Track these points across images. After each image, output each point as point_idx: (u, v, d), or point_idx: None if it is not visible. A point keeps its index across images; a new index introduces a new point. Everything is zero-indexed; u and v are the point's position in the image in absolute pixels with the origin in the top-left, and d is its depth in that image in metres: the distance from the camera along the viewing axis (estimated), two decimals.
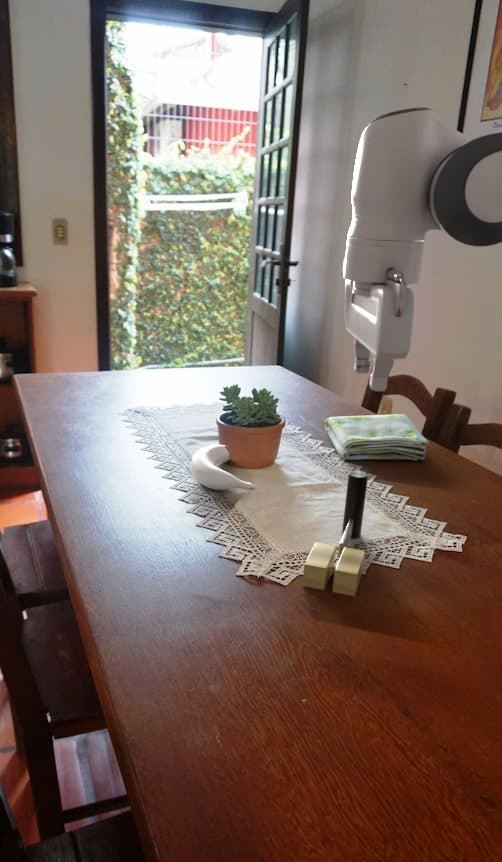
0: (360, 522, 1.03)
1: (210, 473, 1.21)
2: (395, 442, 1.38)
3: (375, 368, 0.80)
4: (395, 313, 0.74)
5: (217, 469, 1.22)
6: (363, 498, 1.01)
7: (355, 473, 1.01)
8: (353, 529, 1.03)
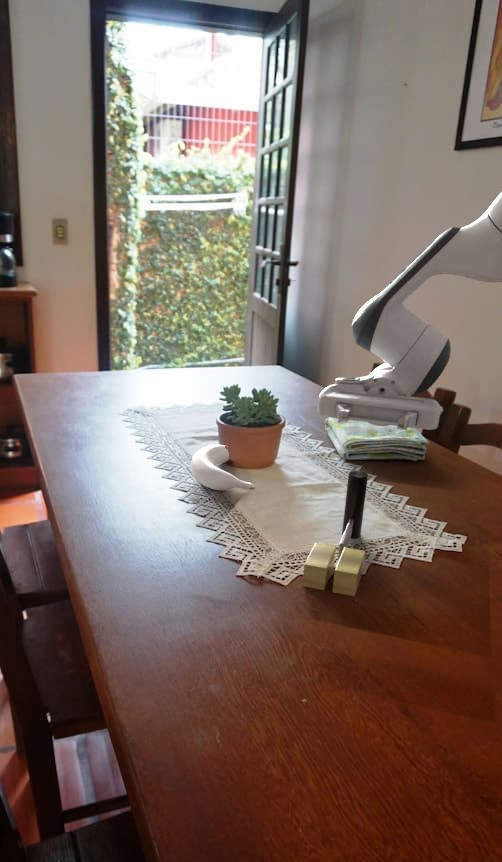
0: (360, 522, 1.03)
1: (210, 473, 1.21)
2: (395, 442, 1.38)
3: (414, 415, 1.10)
4: None
5: (217, 469, 1.22)
6: (363, 498, 1.01)
7: (355, 473, 1.01)
8: (353, 529, 1.03)
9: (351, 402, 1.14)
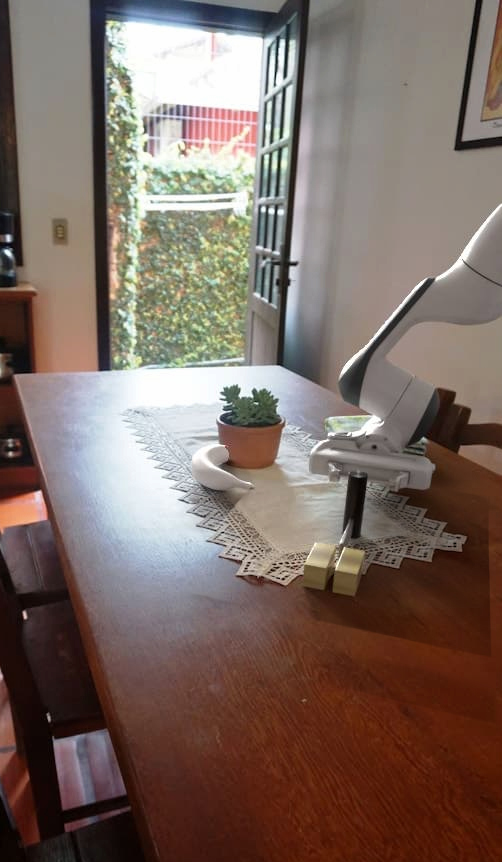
0: (360, 522, 1.03)
1: (210, 473, 1.21)
2: None
3: (405, 476, 1.09)
4: None
5: (217, 469, 1.22)
6: (363, 498, 1.01)
7: (355, 473, 1.01)
8: (353, 529, 1.03)
9: (343, 460, 1.13)
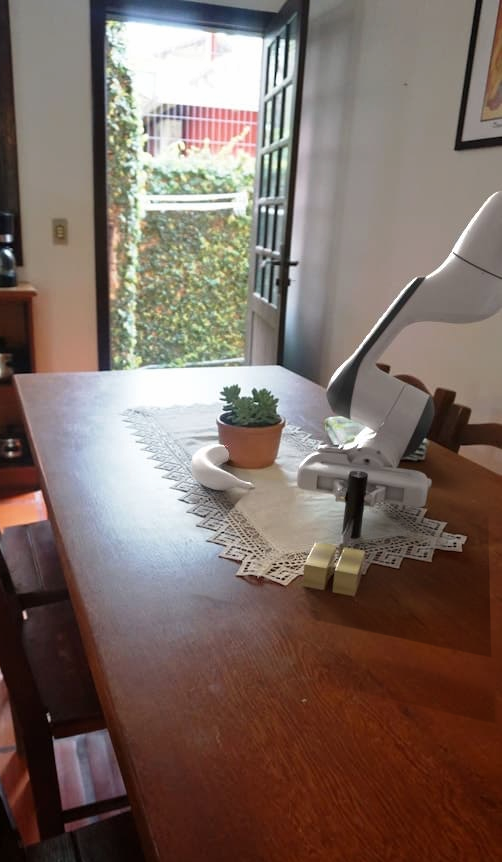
0: (360, 522, 1.03)
1: (210, 473, 1.21)
2: None
3: (381, 490, 1.03)
4: None
5: (217, 469, 1.22)
6: (363, 498, 1.01)
7: (355, 473, 1.01)
8: (353, 529, 1.03)
9: (333, 476, 1.06)
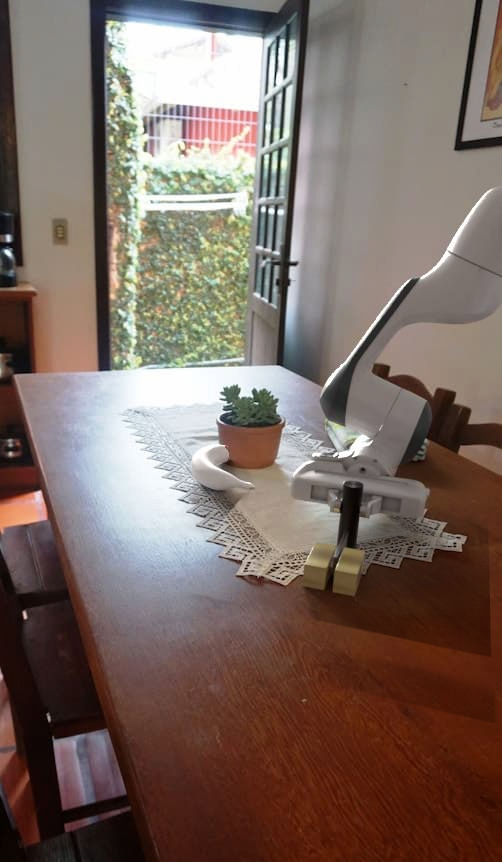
0: (355, 534, 0.99)
1: (210, 473, 1.21)
2: None
3: (378, 501, 0.99)
4: None
5: (217, 469, 1.22)
6: (358, 509, 0.98)
7: (350, 483, 0.97)
8: (348, 541, 0.99)
9: (327, 485, 1.03)
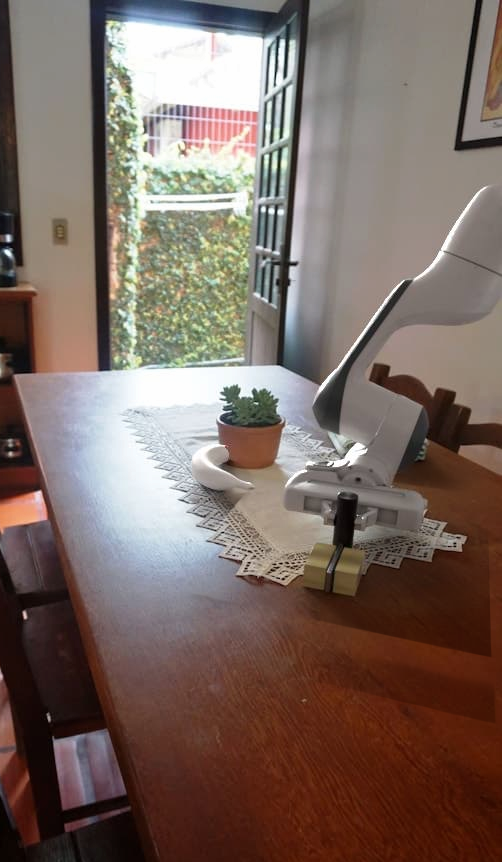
0: (350, 547, 0.95)
1: (210, 473, 1.21)
2: None
3: (373, 513, 0.95)
4: None
5: (217, 469, 1.22)
6: (353, 522, 0.94)
7: (344, 495, 0.93)
8: None
9: (321, 496, 0.99)
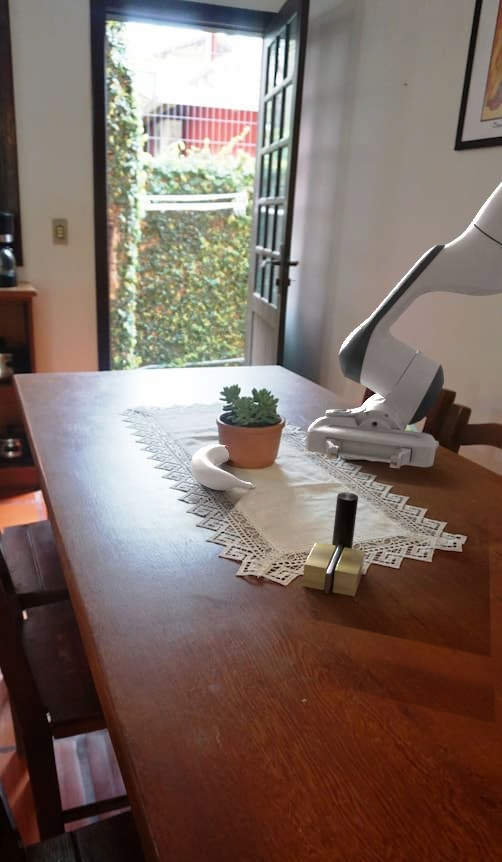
0: None
1: (210, 473, 1.21)
2: None
3: (407, 452, 1.03)
4: None
5: (217, 469, 1.22)
6: (353, 522, 0.93)
7: (344, 495, 0.93)
8: None
9: (341, 437, 1.08)
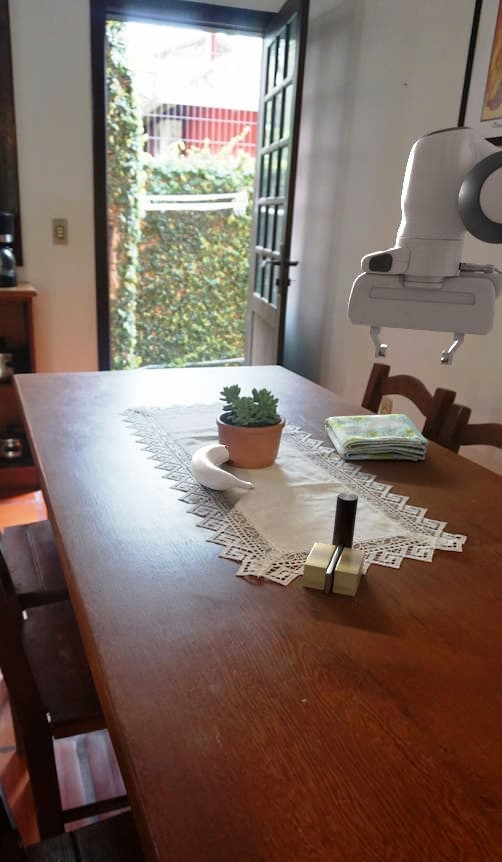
0: None
1: (210, 473, 1.21)
2: (395, 442, 1.38)
3: None
4: (496, 297, 0.93)
5: (217, 469, 1.22)
6: (353, 522, 0.93)
7: (344, 495, 0.93)
8: None
9: None
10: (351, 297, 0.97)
